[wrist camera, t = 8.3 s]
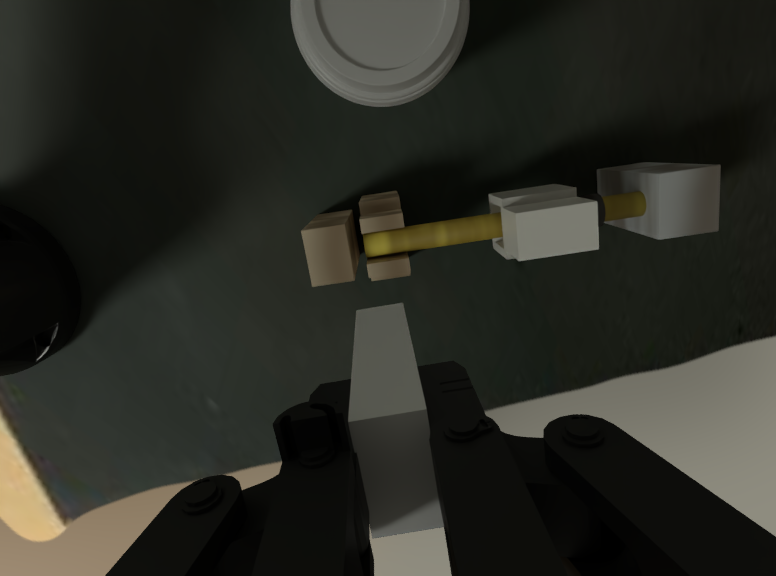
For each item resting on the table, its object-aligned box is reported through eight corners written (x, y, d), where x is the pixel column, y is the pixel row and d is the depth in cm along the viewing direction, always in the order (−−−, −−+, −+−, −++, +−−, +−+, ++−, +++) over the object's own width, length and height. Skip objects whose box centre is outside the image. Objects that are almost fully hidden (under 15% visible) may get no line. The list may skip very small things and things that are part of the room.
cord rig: (328, 270, 43) (314, 302, 34) (315, 203, 41) (296, 217, 32) (644, 222, 42) (717, 242, 33) (644, 152, 40) (721, 152, 31)
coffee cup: (464, 39, 38) (516, -32, 23) (397, 145, 40) (407, 140, 26) (361, -38, 36) (349, -164, 22) (297, 76, 38) (247, 30, 24)
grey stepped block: (493, 248, 37) (519, 270, 30) (488, 193, 36) (514, 203, 29) (557, 238, 37) (599, 258, 30) (554, 183, 36) (597, 191, 29)
